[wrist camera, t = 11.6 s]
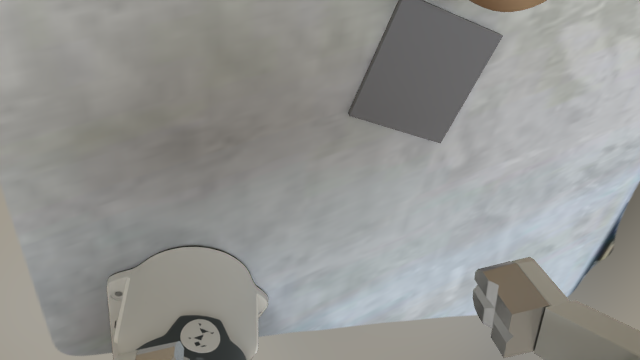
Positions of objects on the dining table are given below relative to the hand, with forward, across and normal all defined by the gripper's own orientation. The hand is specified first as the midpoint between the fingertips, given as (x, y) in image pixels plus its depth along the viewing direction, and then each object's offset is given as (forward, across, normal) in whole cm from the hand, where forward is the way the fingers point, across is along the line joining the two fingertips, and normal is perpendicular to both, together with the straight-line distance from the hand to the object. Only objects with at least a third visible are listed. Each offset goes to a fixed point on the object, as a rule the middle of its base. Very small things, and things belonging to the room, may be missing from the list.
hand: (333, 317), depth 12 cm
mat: (+31, -15, +7) cm, 35 cm away
